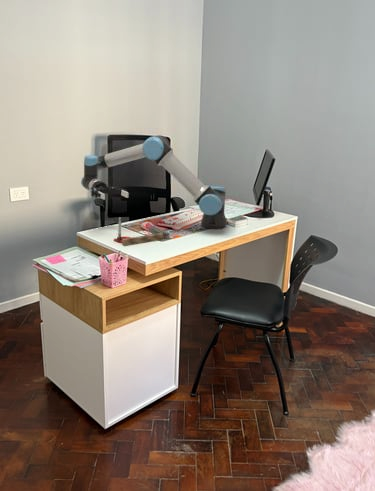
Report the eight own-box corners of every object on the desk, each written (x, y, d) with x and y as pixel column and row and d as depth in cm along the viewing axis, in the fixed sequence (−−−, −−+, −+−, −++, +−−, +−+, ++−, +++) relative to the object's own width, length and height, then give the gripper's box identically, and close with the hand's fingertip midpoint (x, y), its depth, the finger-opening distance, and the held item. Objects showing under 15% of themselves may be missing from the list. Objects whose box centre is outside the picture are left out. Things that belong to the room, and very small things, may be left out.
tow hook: (124, 237, 231) (112, 241, 223) (125, 213, 227) (112, 216, 220) (136, 240, 226) (124, 244, 219) (137, 216, 223) (125, 219, 215)
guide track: (154, 230, 243) (154, 225, 242) (169, 238, 230) (169, 233, 229) (110, 237, 229) (110, 231, 228) (124, 245, 216) (124, 240, 215)
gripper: (118, 192, 251) (136, 201, 235) (76, 195, 236) (93, 204, 220) (118, 179, 248) (137, 187, 232) (76, 181, 234) (94, 190, 218)
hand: (116, 196), depth 226 cm, fingers open, 13 cm apart
